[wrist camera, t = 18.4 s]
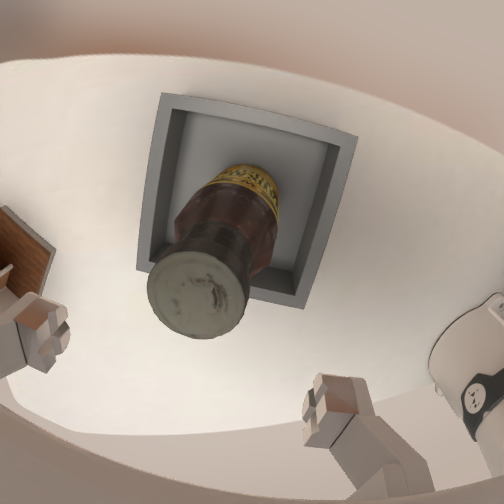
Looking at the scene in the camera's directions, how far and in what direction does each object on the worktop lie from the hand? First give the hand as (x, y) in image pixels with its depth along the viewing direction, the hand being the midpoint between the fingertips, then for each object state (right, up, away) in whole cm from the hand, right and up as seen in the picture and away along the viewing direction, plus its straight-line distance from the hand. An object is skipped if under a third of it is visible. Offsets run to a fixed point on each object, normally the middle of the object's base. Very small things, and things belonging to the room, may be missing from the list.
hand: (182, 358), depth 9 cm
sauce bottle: (+1, +9, +21) cm, 23 cm away
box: (+1, +9, +22) cm, 24 cm away
